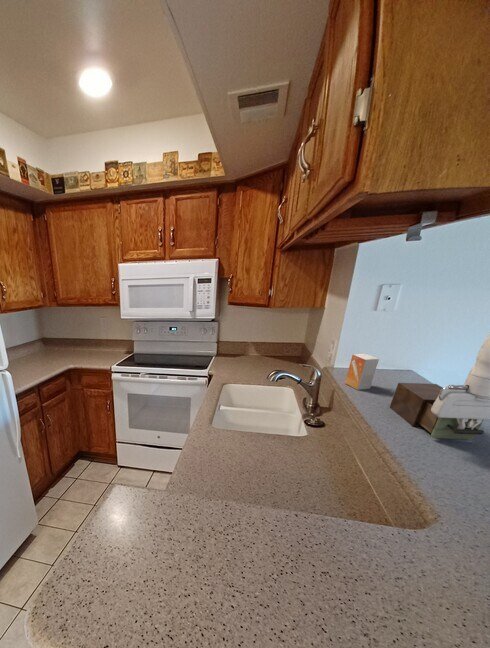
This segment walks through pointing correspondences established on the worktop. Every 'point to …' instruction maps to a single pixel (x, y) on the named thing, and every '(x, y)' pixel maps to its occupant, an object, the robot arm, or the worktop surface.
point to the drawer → (445, 425)
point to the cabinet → (413, 400)
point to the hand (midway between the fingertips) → (463, 431)
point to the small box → (361, 371)
